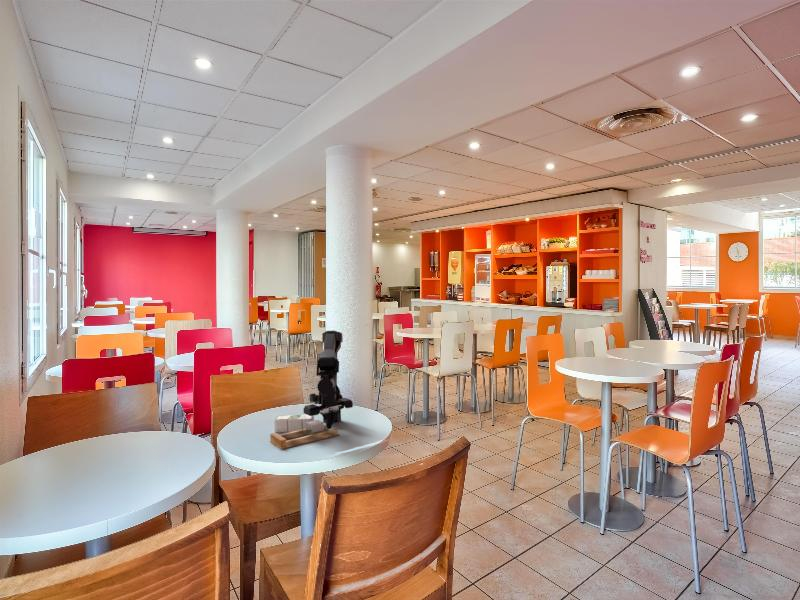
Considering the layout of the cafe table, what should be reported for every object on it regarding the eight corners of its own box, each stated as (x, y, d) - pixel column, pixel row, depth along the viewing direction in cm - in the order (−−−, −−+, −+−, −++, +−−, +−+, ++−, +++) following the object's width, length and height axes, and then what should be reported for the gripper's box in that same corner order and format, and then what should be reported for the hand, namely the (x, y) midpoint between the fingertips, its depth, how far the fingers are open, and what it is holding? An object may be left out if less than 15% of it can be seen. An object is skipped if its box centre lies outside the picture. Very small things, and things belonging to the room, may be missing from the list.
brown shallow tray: (324, 430, 180) (324, 420, 180) (340, 437, 171) (340, 427, 171) (269, 443, 166) (268, 433, 166) (282, 452, 157) (282, 441, 157)
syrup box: (274, 434, 176) (312, 433, 177) (274, 419, 176) (311, 418, 177) (278, 429, 182) (314, 428, 183) (277, 414, 182) (314, 414, 182)
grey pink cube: (317, 432, 174) (317, 419, 174) (324, 435, 171) (323, 422, 170) (305, 435, 171) (305, 422, 171) (312, 438, 167) (311, 425, 167)
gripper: (338, 381, 186) (339, 419, 187) (296, 388, 175) (297, 429, 175) (353, 386, 178) (354, 425, 178) (310, 393, 166) (311, 436, 166)
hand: (329, 428), depth 175 cm, fingers closed
